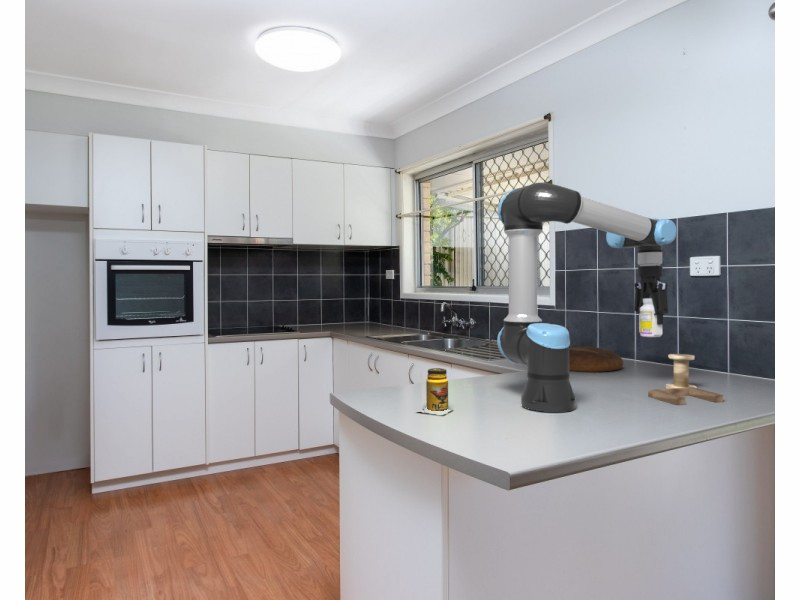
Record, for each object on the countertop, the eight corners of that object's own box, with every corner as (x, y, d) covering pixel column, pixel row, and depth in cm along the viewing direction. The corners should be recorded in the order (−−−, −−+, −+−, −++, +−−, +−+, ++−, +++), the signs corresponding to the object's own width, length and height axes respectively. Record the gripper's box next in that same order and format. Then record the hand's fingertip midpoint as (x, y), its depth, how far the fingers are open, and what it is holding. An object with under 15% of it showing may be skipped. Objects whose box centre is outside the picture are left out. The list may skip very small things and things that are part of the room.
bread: (590, 376, 201) (591, 353, 201) (538, 366, 225) (538, 346, 225) (638, 369, 216) (639, 347, 216) (584, 361, 239) (584, 341, 239)
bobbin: (679, 393, 169) (679, 357, 168) (659, 387, 178) (659, 354, 177) (703, 391, 171) (703, 356, 170) (682, 386, 180) (682, 353, 179)
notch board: (676, 405, 153) (676, 398, 153) (648, 396, 165) (648, 389, 165) (723, 401, 156) (723, 394, 156) (692, 393, 168) (692, 387, 168)
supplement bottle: (657, 335, 183) (657, 297, 183) (664, 337, 177) (664, 298, 176) (637, 335, 184) (636, 298, 183) (643, 337, 177) (643, 299, 177)
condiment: (443, 416, 143) (442, 372, 143) (415, 413, 147) (414, 369, 147) (454, 410, 149) (453, 368, 149) (427, 407, 154) (426, 366, 153)
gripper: (680, 264, 170) (681, 335, 171) (641, 265, 190) (641, 330, 191) (660, 264, 169) (660, 336, 170) (622, 266, 188) (623, 331, 189)
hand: (650, 333), depth 180 cm, fingers closed on supplement bottle, 7 cm apart
